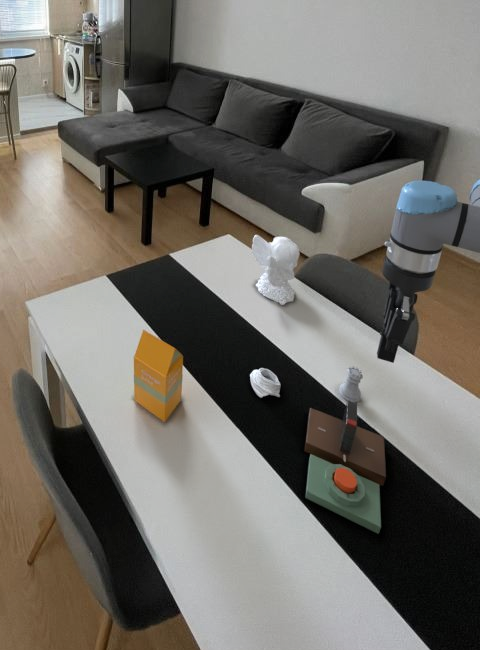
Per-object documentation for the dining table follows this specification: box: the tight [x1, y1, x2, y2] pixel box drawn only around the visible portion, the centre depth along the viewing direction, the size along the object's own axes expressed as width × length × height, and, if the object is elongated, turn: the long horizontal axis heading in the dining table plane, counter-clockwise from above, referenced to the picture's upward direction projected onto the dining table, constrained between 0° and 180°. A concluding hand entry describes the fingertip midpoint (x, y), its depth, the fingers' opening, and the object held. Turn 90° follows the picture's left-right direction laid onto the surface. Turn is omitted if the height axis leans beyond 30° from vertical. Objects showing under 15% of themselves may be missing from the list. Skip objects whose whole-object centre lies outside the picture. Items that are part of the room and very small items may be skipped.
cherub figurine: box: [251, 234, 301, 306], centre depth 132 cm, size 13×12×20 cm
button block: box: [305, 454, 382, 535], centre depth 83 cm, size 12×8×4 cm, turn 59°
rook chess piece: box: [338, 365, 364, 403], centre depth 101 cm, size 4×4×8 cm
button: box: [334, 468, 357, 494], centre depth 82 cm, size 4×4×2 cm
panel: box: [304, 407, 387, 487], centre depth 91 cm, size 14×10×3 cm
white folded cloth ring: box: [249, 367, 282, 399], centre depth 106 cm, size 8×7×5 cm
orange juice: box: [133, 329, 184, 423], centre depth 101 cm, size 8×9×20 cm
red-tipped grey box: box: [340, 400, 358, 454], centre depth 89 cm, size 6×2×8 cm, turn 148°
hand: (385, 357), depth 87 cm, fingers closed
